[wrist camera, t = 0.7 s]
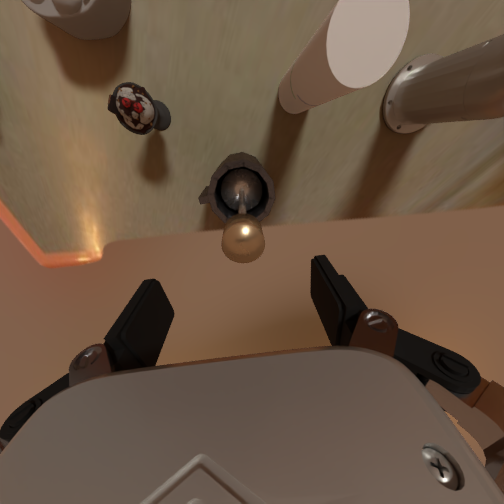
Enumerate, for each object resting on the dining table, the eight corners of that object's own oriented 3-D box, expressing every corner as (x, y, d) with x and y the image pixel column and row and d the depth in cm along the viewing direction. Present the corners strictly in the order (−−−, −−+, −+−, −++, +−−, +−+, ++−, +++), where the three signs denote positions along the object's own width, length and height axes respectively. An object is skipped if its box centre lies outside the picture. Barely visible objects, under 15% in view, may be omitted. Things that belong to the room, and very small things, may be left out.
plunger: (258, 164, 34) (279, 196, 16) (264, 206, 38) (287, 270, 20) (216, 173, 34) (189, 214, 16) (226, 213, 38) (214, 283, 20)
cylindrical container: (297, 122, 41) (360, 106, 20) (271, 97, 39) (309, 47, 17) (321, 86, 38) (425, 23, 17) (294, 57, 36) (376, -61, 14)
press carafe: (260, 148, 43) (270, 153, 29) (267, 197, 49) (277, 220, 35) (202, 160, 44) (185, 170, 30) (215, 206, 49) (206, 234, 36)
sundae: (181, 114, 39) (153, 103, 26) (164, 142, 42) (130, 144, 29) (151, 85, 37) (104, 57, 24) (134, 116, 39) (83, 106, 26)
